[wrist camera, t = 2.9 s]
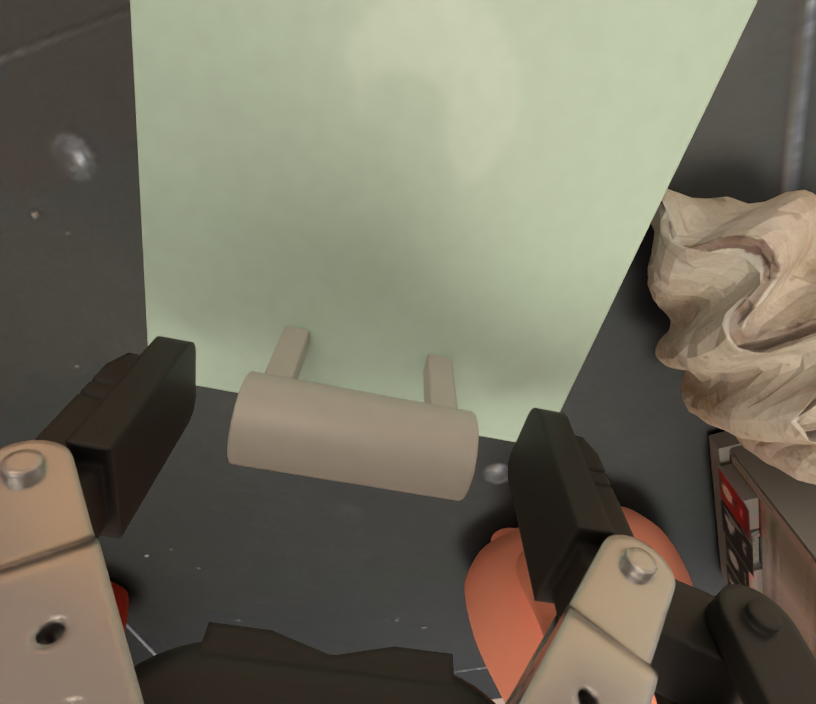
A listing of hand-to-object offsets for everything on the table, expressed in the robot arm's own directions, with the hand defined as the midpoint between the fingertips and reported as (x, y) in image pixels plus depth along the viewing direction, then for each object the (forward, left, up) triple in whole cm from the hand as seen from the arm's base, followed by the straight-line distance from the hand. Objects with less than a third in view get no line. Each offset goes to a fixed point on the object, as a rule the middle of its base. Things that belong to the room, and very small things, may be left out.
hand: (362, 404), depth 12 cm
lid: (0, +4, -3) cm, 5 cm away
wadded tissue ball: (+17, +1, -13) cm, 22 cm away
